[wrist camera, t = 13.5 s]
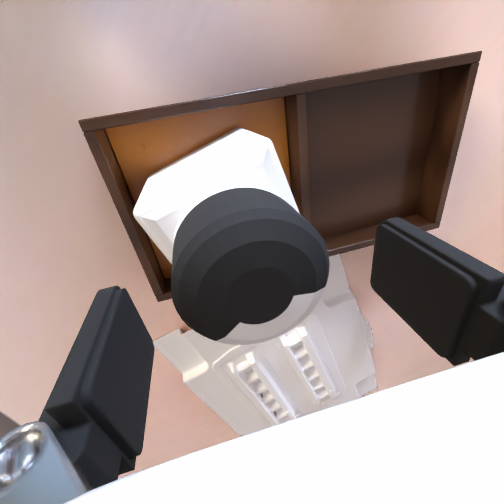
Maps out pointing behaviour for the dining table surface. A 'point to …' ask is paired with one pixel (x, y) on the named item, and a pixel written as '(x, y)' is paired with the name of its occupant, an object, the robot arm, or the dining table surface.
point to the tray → (282, 364)
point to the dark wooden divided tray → (309, 148)
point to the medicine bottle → (234, 240)
